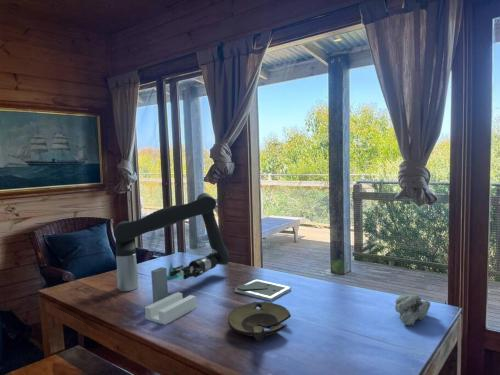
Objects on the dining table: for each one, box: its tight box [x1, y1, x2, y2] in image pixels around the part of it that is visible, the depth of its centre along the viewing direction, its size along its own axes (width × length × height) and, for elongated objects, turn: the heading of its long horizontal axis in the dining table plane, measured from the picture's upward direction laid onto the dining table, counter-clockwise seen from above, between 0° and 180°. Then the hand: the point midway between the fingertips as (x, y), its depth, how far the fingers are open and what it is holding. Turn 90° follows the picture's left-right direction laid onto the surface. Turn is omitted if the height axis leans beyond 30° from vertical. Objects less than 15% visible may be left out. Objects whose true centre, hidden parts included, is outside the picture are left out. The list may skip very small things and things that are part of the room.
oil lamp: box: [227, 300, 292, 342], centre depth 129 cm, size 22×30×8 cm
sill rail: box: [144, 291, 198, 326], centre depth 148 cm, size 11×18×5 cm, turn 147°
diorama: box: [167, 261, 184, 281], centre depth 198 cm, size 12×20×9 cm, turn 139°
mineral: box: [394, 293, 431, 326], centre depth 134 cm, size 12×17×10 cm
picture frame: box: [234, 278, 292, 302], centre depth 169 cm, size 16×3×21 cm
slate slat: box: [150, 267, 169, 304], centre depth 159 cm, size 3×6×15 cm, turn 147°
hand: (177, 275), depth 168 cm, fingers open, 8 cm apart
